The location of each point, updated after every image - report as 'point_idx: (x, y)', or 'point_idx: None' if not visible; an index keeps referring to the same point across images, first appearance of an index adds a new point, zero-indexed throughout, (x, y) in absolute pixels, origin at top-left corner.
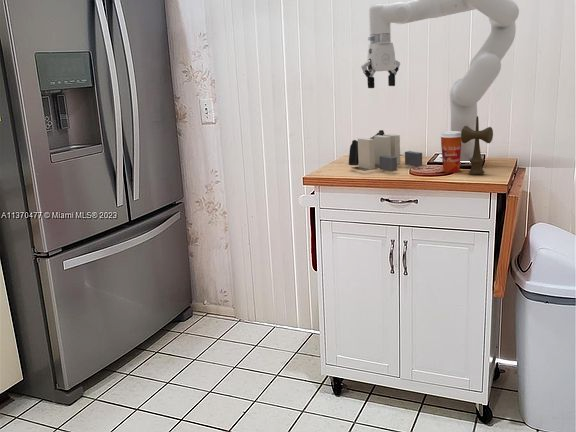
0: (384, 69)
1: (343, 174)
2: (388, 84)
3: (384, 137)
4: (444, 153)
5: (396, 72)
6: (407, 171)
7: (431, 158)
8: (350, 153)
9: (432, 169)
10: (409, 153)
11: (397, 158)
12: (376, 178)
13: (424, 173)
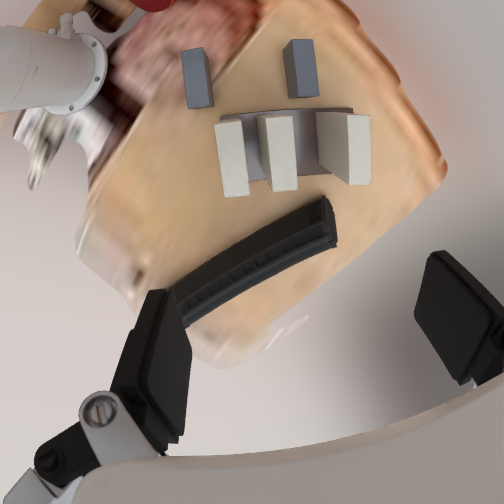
0: (453, 422)
1: (385, 145)
2: (191, 360)
3: (292, 121)
4: None
5: (75, 426)
6: (242, 55)
7: (91, 183)
8: (335, 226)
9: (174, 39)
10: (207, 82)
11: (230, 119)
12: (355, 44)
13: (224, 9)
